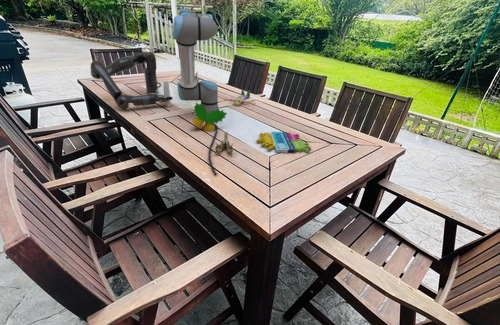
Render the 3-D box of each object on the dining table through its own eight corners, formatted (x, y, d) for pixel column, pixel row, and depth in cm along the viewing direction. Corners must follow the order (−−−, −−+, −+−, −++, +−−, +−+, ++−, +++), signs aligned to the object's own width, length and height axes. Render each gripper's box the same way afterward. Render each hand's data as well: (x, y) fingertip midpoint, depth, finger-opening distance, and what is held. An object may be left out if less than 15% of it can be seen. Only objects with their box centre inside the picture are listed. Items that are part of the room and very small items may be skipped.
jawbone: (234, 135, 144) (233, 125, 135) (233, 160, 138) (232, 151, 129) (217, 135, 144) (216, 125, 135) (216, 160, 138) (214, 150, 129)
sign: (313, 150, 142) (258, 149, 139) (312, 153, 143) (258, 152, 140) (301, 132, 164) (254, 130, 161) (301, 134, 165) (254, 133, 162)
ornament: (218, 133, 171) (224, 110, 169) (221, 134, 163) (227, 111, 161) (186, 125, 162) (192, 101, 160) (189, 126, 155) (195, 101, 153)
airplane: (171, 82, 265) (170, 71, 260) (201, 80, 279) (201, 70, 274) (181, 92, 237) (180, 81, 232) (214, 89, 250) (214, 79, 245)
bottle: (171, 104, 201) (169, 80, 192) (170, 106, 198) (168, 81, 189) (165, 104, 201) (163, 80, 192) (164, 106, 197) (162, 81, 188)
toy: (261, 91, 228) (254, 99, 202) (261, 99, 231) (253, 108, 205) (231, 87, 233) (220, 95, 207) (230, 95, 236) (219, 104, 210)
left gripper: (150, 97, 182) (173, 94, 191) (144, 92, 192) (167, 90, 201) (151, 107, 186) (174, 104, 195) (145, 102, 196) (168, 99, 205)
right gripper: (193, 33, 195) (194, 66, 207) (172, 33, 184) (174, 67, 196) (198, 34, 191) (199, 67, 202) (177, 34, 180) (179, 69, 191)
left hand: (170, 97), depth 198 cm, fingers closed on bottle, 4 cm apart
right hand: (187, 67), depth 199 cm, fingers closed on lid, 4 cm apart
